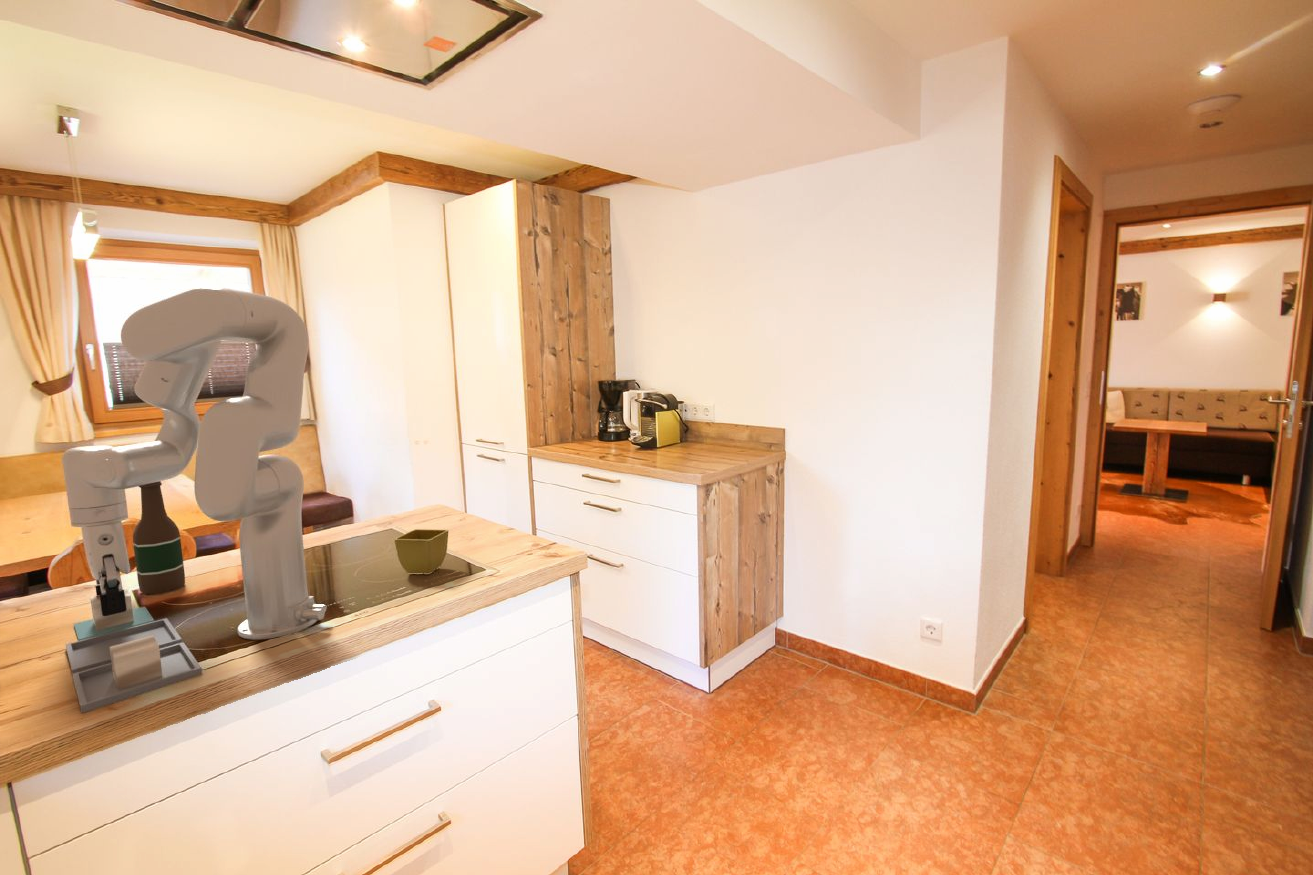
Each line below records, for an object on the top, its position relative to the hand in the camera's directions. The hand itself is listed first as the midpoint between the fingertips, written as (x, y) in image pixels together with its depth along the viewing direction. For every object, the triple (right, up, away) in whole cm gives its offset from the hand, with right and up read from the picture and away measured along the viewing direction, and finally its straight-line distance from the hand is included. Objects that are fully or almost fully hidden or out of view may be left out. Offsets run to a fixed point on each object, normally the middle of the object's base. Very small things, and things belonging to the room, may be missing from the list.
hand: (112, 607), depth 107 cm
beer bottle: (-7, -2, +19) cm, 20 cm away
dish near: (+22, -5, -19) cm, 29 cm away
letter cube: (0, -3, 0) cm, 3 cm away
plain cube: (+22, -5, -19) cm, 29 cm away
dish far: (+11, -4, -9) cm, 14 cm away
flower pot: (+47, 0, +27) cm, 54 cm away
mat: (0, -3, 0) cm, 4 cm away
